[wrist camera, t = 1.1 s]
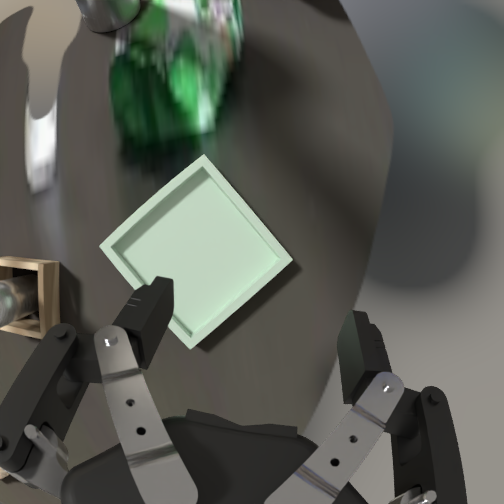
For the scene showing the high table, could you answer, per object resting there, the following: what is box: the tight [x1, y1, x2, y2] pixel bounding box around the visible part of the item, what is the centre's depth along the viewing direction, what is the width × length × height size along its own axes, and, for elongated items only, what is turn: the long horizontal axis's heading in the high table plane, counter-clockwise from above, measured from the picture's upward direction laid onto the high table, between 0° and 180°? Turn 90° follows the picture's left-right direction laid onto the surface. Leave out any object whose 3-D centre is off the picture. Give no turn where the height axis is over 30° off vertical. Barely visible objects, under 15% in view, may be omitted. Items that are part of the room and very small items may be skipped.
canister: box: [0, 274, 39, 328], centre depth 24 cm, size 5×5×16 cm
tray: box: [100, 155, 293, 350], centre depth 34 cm, size 16×16×2 cm
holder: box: [0, 256, 60, 339], centre depth 30 cm, size 9×9×4 cm
